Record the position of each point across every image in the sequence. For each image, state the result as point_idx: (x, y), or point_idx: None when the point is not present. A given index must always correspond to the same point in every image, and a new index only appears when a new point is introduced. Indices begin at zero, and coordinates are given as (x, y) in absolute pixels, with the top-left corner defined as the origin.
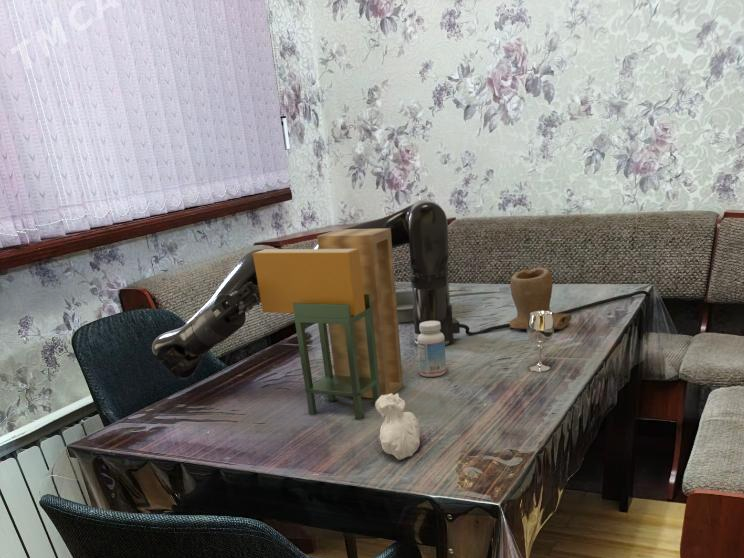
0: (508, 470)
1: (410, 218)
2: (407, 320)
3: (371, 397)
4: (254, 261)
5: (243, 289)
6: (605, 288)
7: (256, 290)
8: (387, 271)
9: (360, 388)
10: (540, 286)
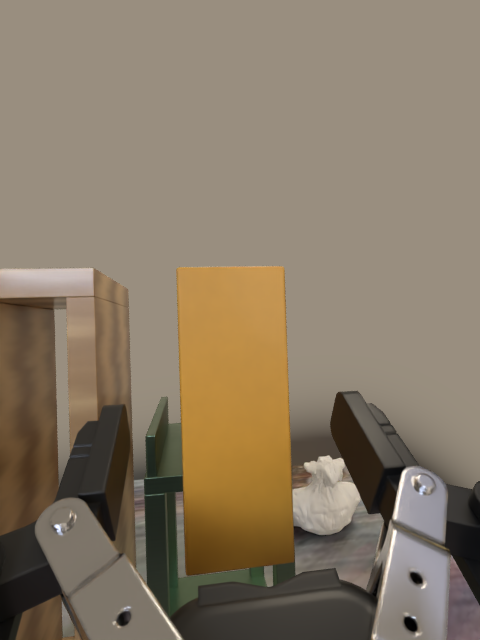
0: (295, 469)
1: None
2: None
3: None
4: (285, 305)
5: (388, 428)
6: None
7: (333, 426)
8: (52, 378)
9: (235, 576)
10: None
